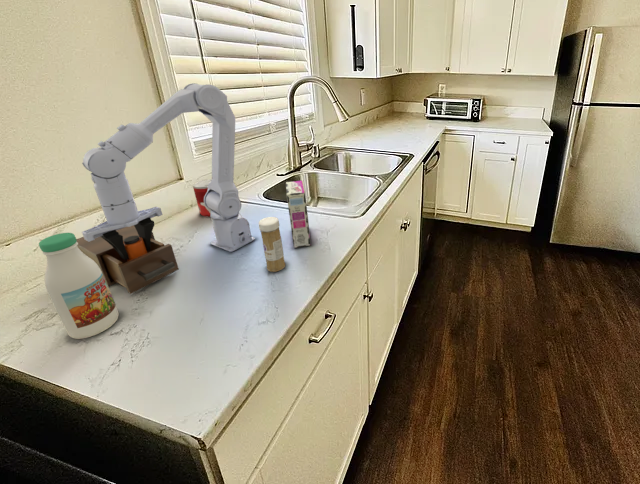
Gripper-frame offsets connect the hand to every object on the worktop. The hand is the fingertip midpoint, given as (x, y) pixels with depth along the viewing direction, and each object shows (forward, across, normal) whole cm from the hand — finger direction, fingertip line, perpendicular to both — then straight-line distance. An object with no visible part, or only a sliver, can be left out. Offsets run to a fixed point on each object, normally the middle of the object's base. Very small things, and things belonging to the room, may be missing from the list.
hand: (136, 253), depth 77 cm
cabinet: (+7, 0, +10) cm, 12 cm away
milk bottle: (+7, -13, -9) cm, 17 cm away
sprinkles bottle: (+7, +18, -26) cm, 32 cm away
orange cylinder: (+1, 0, 0) cm, 1 cm away
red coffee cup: (+7, +31, +20) cm, 38 cm away
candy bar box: (+7, +32, -21) cm, 39 cm away
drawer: (+6, 0, -2) cm, 6 cm away
